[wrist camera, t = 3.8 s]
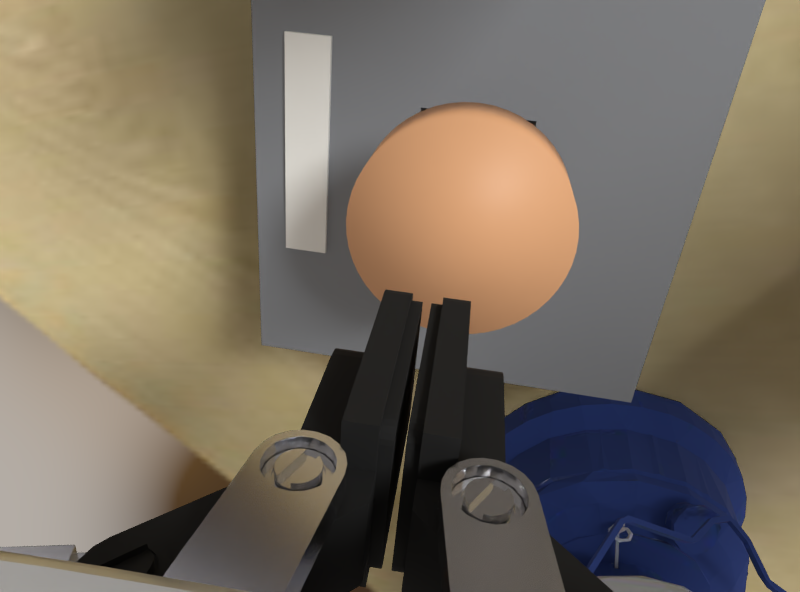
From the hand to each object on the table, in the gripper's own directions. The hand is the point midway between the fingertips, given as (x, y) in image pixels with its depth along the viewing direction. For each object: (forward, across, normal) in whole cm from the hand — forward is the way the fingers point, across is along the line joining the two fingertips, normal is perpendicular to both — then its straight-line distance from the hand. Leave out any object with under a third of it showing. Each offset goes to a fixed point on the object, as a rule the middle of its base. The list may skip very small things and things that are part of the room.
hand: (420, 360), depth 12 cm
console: (+18, -1, 0) cm, 18 cm away
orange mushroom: (+14, -1, 0) cm, 14 cm away
